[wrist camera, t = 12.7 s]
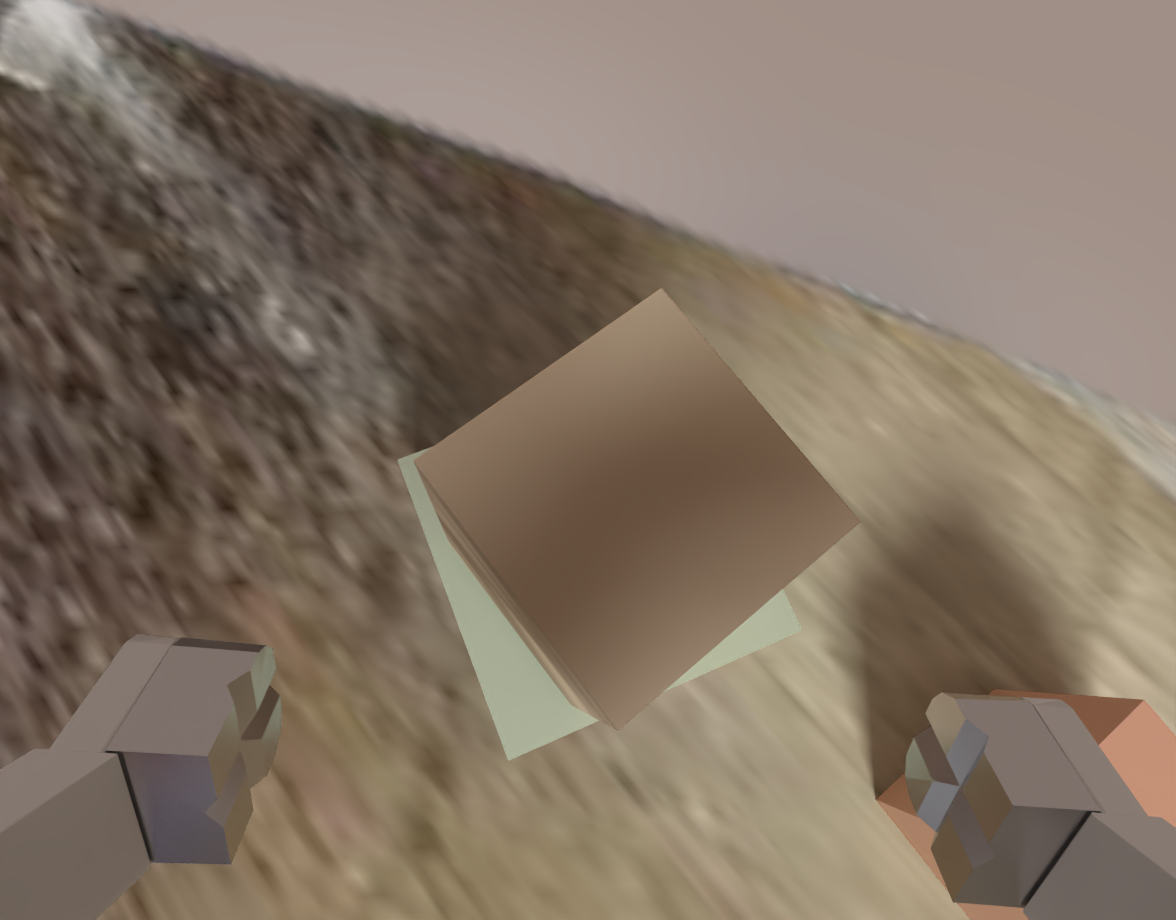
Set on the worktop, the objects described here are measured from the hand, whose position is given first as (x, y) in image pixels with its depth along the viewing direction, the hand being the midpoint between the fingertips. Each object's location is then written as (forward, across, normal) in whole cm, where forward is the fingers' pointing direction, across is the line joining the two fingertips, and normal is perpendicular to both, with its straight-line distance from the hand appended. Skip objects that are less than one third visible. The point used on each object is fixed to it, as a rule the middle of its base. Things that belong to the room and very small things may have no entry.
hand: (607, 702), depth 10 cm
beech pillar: (+9, 0, +5) cm, 10 cm away
